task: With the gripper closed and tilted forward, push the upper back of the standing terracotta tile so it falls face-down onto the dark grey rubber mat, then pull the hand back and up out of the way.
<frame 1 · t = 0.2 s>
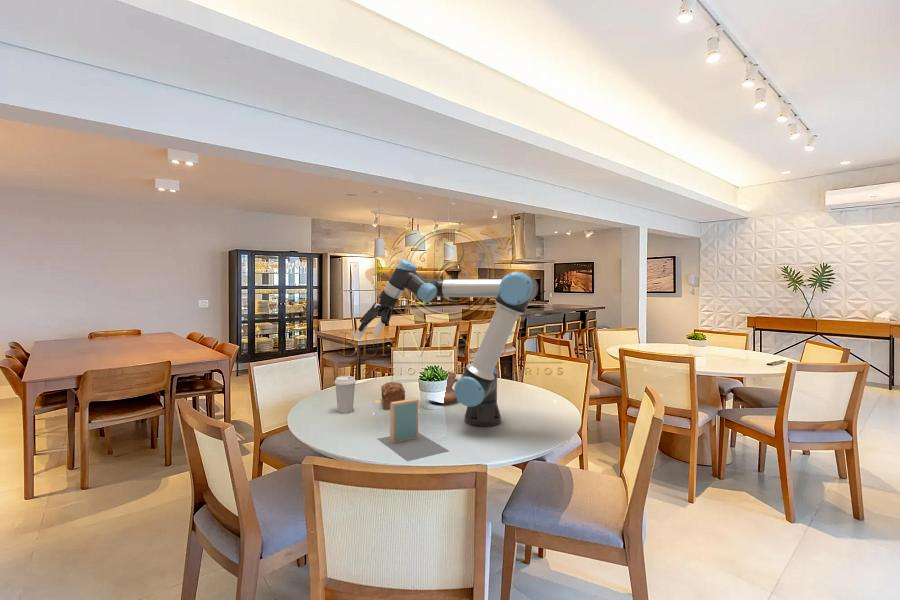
hand: (366, 335, 182), 35 cm above the table, tool tilted 35°, fingers open, 13 cm apart
tile: (404, 439, 156), resting on mat
coffee cup: (345, 411, 193), on the table
mat: (412, 445, 151), on the table
bread: (392, 405, 205), on the table
ceramic jug: (444, 402, 209), on the table
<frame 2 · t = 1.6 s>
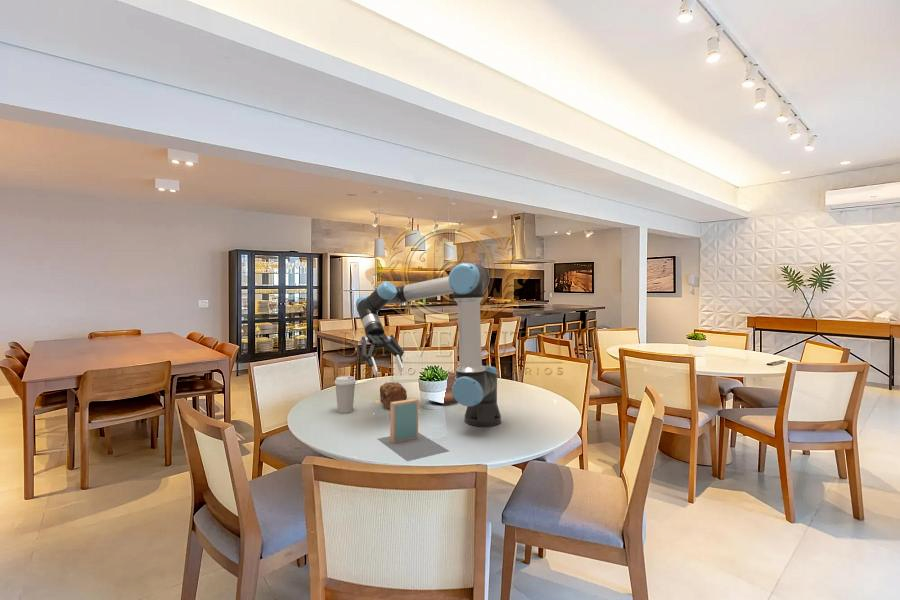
hand: (389, 371, 166), 23 cm above the table, tool tilted 45°, fingers open, 10 cm apart
nothing on the table moved.
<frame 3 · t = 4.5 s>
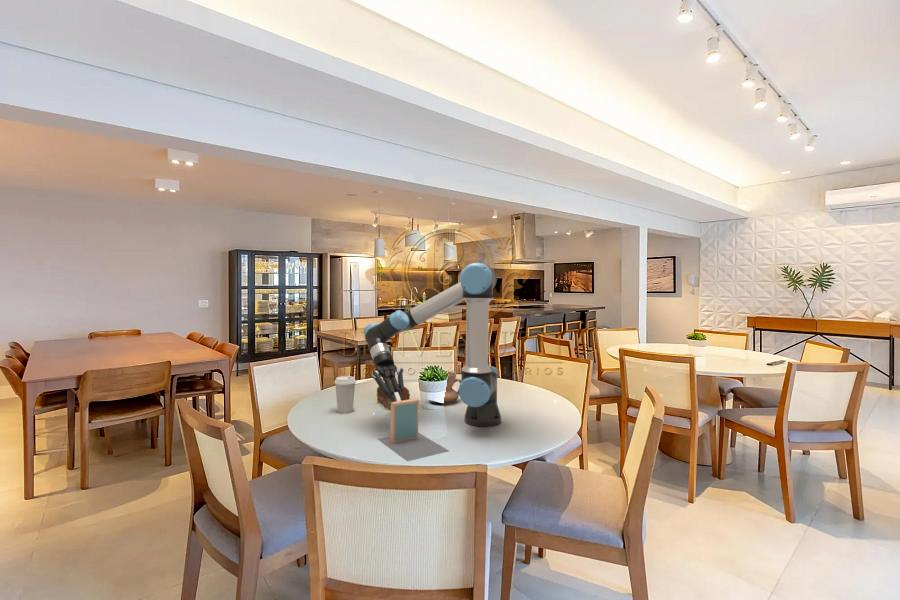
hand: (400, 409, 157), 11 cm above the table, tool tilted 45°, fingers closed
tile: (404, 439, 156), resting on mat, touching gripper
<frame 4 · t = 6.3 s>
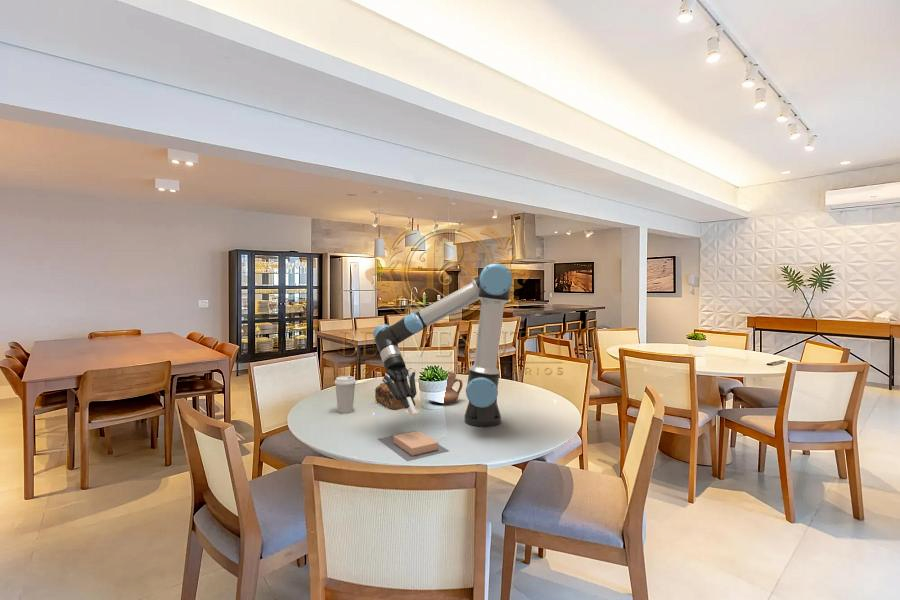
hand: (413, 415, 149), 11 cm above the table, tool tilted 45°, fingers closed
tile: (406, 436, 154), point 2 cm above the table, tilted 90°, touching mat
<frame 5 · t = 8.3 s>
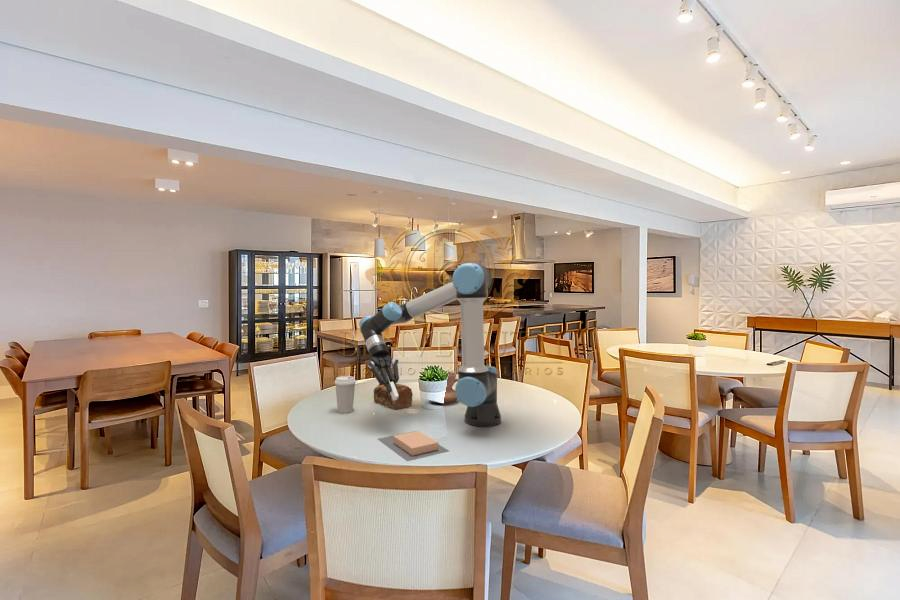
hand: (395, 398, 161), 14 cm above the table, tool tilted 45°, fingers closed
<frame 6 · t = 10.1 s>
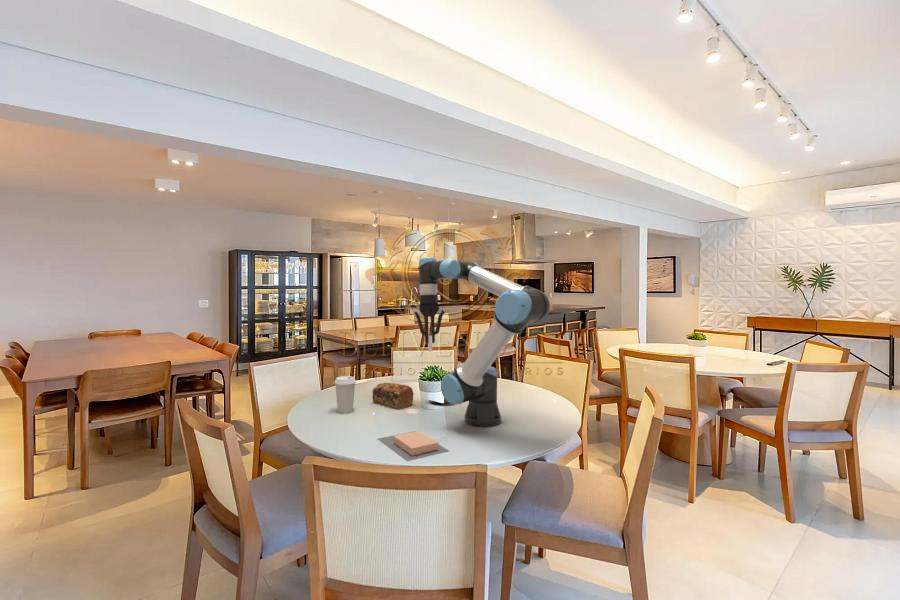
hand: (430, 351, 180), 29 cm above the table, tool pointing down, fingers closed
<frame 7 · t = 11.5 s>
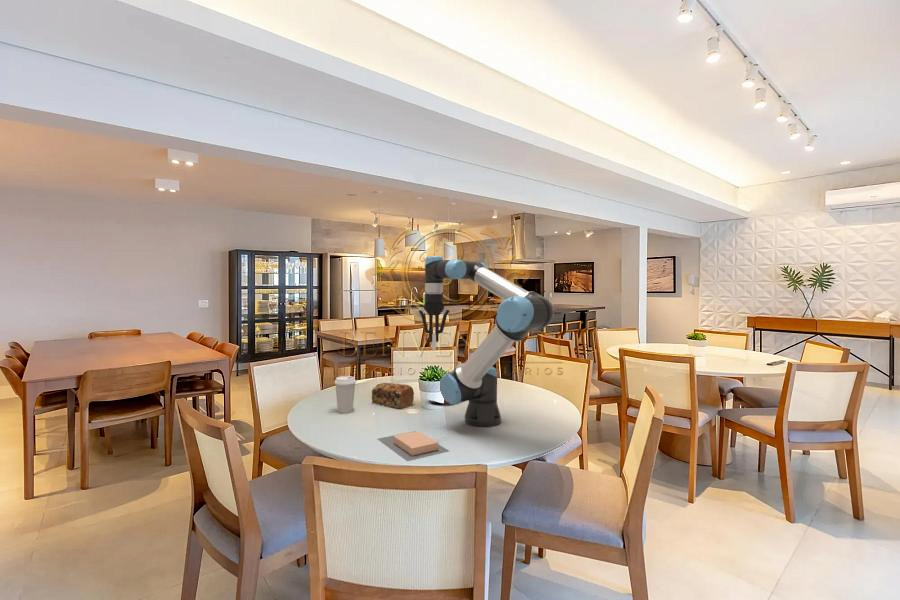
hand: (433, 349, 180), 29 cm above the table, tool pointing down, fingers closed
at the end: tile tilted 90°; tile inside the target area (0.4 cm from its centre), point 1.9 cm above the table; the gripper is holding nothing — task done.
